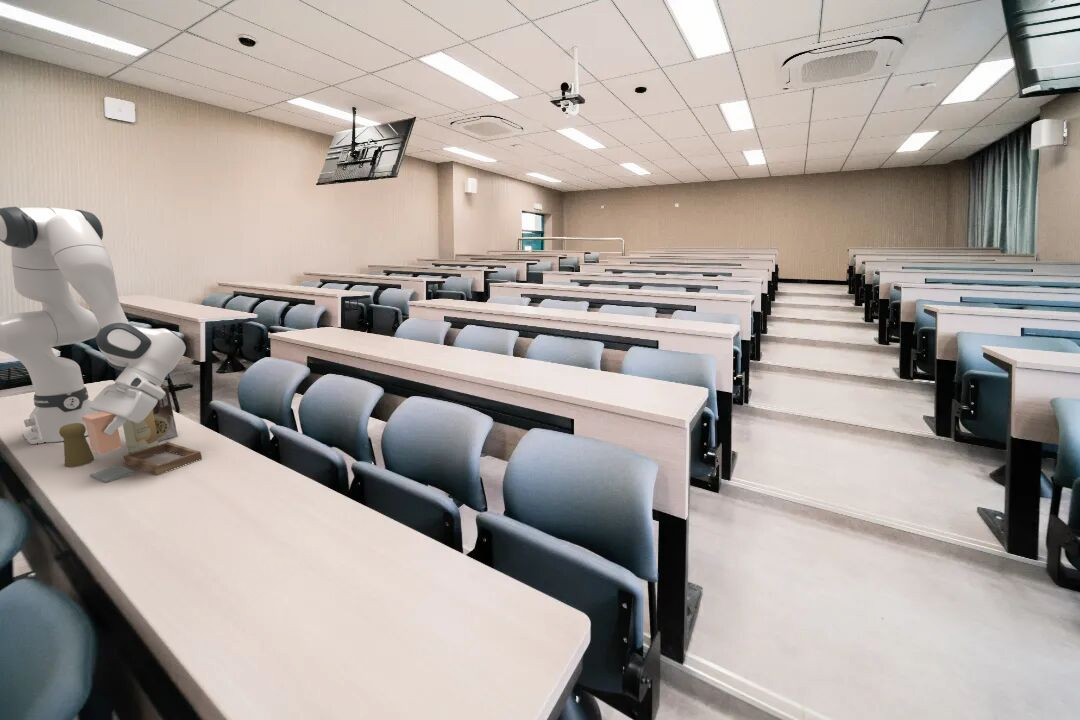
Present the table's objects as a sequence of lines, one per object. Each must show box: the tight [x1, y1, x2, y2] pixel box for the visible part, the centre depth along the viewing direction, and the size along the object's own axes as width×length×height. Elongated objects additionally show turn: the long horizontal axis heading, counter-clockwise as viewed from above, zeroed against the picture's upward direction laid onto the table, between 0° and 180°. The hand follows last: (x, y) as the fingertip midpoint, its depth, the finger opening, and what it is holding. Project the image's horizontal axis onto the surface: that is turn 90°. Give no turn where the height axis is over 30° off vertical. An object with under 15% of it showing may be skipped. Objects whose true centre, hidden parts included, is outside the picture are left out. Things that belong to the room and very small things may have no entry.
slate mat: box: [89, 464, 135, 483], centre depth 129 cm, size 8×6×1 cm
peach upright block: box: [81, 411, 123, 454], centre depth 126 cm, size 5×5×9 cm
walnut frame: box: [123, 441, 203, 476], centre depth 136 cm, size 16×11×2 cm
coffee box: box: [153, 383, 178, 442], centre depth 151 cm, size 9×6×16 cm
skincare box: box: [122, 410, 160, 453], centre depth 144 cm, size 6×4×12 cm
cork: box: [59, 423, 95, 468], centre depth 135 cm, size 6×6×11 cm
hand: (100, 431), depth 125 cm, fingers closed on peach upright block, 5 cm apart
